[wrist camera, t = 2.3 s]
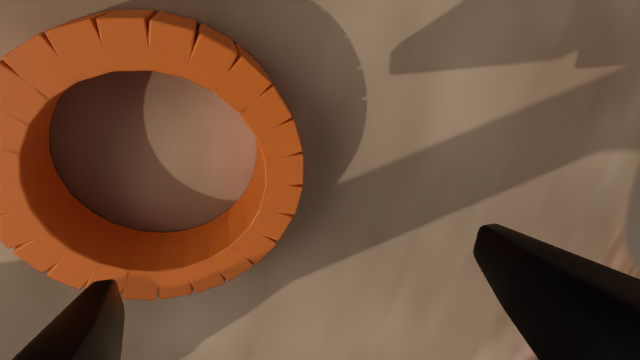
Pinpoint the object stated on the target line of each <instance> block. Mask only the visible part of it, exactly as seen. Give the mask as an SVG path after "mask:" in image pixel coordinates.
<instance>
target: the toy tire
mask: <svg viewBox="0 0 640 360" xmlns="http://www.w3.org/2000/svg"><path fill="white" fill-rule="evenodd" d="M196 26H197V22H196V21H195V20H193V19H189V18H185V17H182V16H178V15H174V14H170V13H167V12H163V11H159V12H158V13H157V14H156V15H155V11H154V10H128V9H116V10H113V11H109V10H108V11H104V12H101V13H97V14H93V15H90V16H86V17H82V18H79V19H75V20H72V21H69V22H67V23H64V24H62V25H59V26H56V27H54V28H51V29H48V30H46V31H44V32H42V33H39V34H37V35H36V36H34V37H33V38H31V39H30V40H28V41H26V42H25V43H23V44H22V45H20V46H19V47H17V48H16V49H14V50H13V51H11V52H9V53H8V54H6V55H5V56H3V58H2V59H3V60H1V61H0V240H1V241H2V242H3V243H4V245H5V246H6V247H7V248H12V247H15V246H16V247H15V249H14V250H13V253H14V254H15V255H17V256H18V257H20V258H21V259H23V260H24V261H25V262H27V263H28V264H30V265H31V266H33V267H34V268H35V269H37V270H38V271H40V272H45V271H46V270H48V269H49V271H48V273H47V276H48V277H50V278H53V279H55V280H57V281H60V282H62V283H65V284H67V285H69V286H72V287H74V288H76V289H81V288H82V287H83V286H84V285H85V284H86V286H85V288H84V290H85V289H86V288H87V287H88V286H89V285H90V284H91V283H93V282H95V281H101V280H108V279H113V280H115V281H116V283H117V285H118V288H119V292H120V295H121V293H122V291H123V299H143V300H156V299H157V296H158V290H159V295H160V298H161V299H165V298H171V297H177V296H184V295H190V294H192V292H193V289H194V290H195V292H196V293H199V292H201V291H204V290H207V289H210V288H212V287H215V286H218V285H221V284H223V283H225V278H226V279H227V280H228V281H230V280H231V279H233V278H235V277H236V276H238V275H239V274H241V273H243V272H244V271H246V270H248V269H249V268H251V267H252V266H253V262H254V263H256V264H257V263H258V262H259V261H260V260H261V259H262V258H263V257H264V256H265V255H266V254H267V253H268V252H269V251H270V250H271V249H272V248H273V247H274V246H275V245H276V244H277V243H276V240H280V238H281V236H282V235H283V233H284V232H285V230H286V228H287V227H288V225H289V224H290V222H291V220H292V218H293V216H292V214H295V213H296V210H297V206H298V203H299V200H300V196H301V193H302V190H303V186H302V184H303V183H304V155H303V153H302V151H303V147H302V144H301V140H300V137H299V133H298V130H297V126H296V123H295V120H294V119H293V117H292V114H291V112H290V110H289V109H288V107H287V105H286V104H285V102H284V100H283V99H282V97H281V95H280V94H279V92H278V91H277V89H276V87H275V86H274V84H273V82H272V81H271V79H270V78H269V76H268V74H267V73H266V71H265V70H263V68H262V66H261V65H260V64H259V63H258V62H257V61H256V60H255V59H254V58H253V57H251V56H250V55H249V54H248V53H247V52H246V51H245V50H244V49H243V48H242V47H241V46H240V45H239V44H237V43H236V44H235V45H234V43H233V41H232V39H230V38H228V37H226V36H225V35H223V34H221V33H219V32H218V31H216V30H214V29H212V28H210V27H209V26H207V25H205V24H202V23H201V24H200V25H199V27H198V29H197V32H196ZM195 33H196V34H195ZM116 71H155V72H160V73H164V74H169V75H173V76H178V77H183V78H186V79H188V80H190V81H192V82H194V83H196V84H198V85H200V86H203V87H205V88H207V89H209V90H211V91H213V92H215V93H216V94H217V95H218V96H219V97H221V98H222V99H223V100H224V101H225V102H227V103H228V104H229V105H230V106H231V107H233V108H234V109H235V110H236V111H237V112H239V114H240V115H241V116H242V118H243V119H244V121H245V122H246V123H247V125H248V126H249V128H250V129H251V130H252V132H253V133H254V135H255V136H256V143H257V160H256V164H255V169H254V173H253V177H252V180H251V182H250V183H249V185H248V187H247V189H246V191H245V192H244V194H243V195H242V196H241V197H240V199H239V200H238V201H237V202H236V203H235V204H234V205H233V206H232V207H231V208H230V209H229V210H228V211H227V212H225V213H223V214H222V215H220V216H219V217H217V218H215V219H214V220H212V221H210V222H209V223H206V224H203V225H200V226H197V227H194V228H191V229H188V230H184V231H176V232H168V233H161V232H148V231H138V230H135V229H131V228H128V227H124V226H121V225H117V224H114V223H112V222H110V221H108V220H106V219H104V218H102V217H101V216H99V215H97V214H95V213H93V212H91V211H90V210H89V209H87V208H86V207H85V206H84V205H83V204H82V203H80V202H79V201H78V200H77V199H76V198H75V197H74V196H72V195H71V193H70V192H69V190H68V189H67V187H66V186H65V184H64V183H63V182H62V180H61V179H60V177H59V176H58V174H57V172H56V169H55V166H54V163H53V160H52V157H51V154H50V151H49V124H50V121H51V118H52V115H53V113H54V110H55V107H56V104H57V101H58V99H59V98H60V97H61V96H62V94H63V93H64V92H65V91H66V90H67V89H68V88H70V87H71V86H73V85H74V84H76V83H77V82H79V81H83V80H86V79H90V78H93V77H97V76H100V75H103V74H107V73H110V72H116Z"/></svg>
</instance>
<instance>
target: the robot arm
mask: <svg viewBox="0 0 640 360" xmlns="http://www.w3.org/2000/svg"><path fill="white" fill-rule="evenodd" d="M474 257H475V260H476V261H477V263H478V265H479V267H480V268H481V270H482V272H483V274H484V276H485V277H486V279H487V281H488V283H489V284H490V286H491V288H492V290H493V292H494V293H495V295H496V297H497V299H498V300H499V302H500V304H501V305H502V307H503V308H504V310H505V311H506V313H507V315H508V316H509V317H510V319H511V320H512V322H513V323H514V325H515V326H516V327H517V329H518V330H519V332H520V333H521V335H522V336H523V337H524V339H525V340H526V342H527V343H528V345H529V346H530V348H531V349H532V350H533V352H534V353H535V355H536V356H537V358H538V359H539V360H640V279H637V278H635V277H632V276H630V275H627V274H625V273H622V272H619V271H617V270H614V269H612V268H609V267H607V266H604V265H601V264H599V263H596V262H594V261H591V260H589V259H586V258H583V257H581V256H578V255H576V254H573V253H571V252H568V251H565V250H563V249H560V248H558V247H555V246H553V245H550V244H547V243H545V242H542V241H540V240H537V239H535V238H532V237H529V236H527V235H524V234H522V233H519V232H517V231H514V230H511V229H509V228H506V227H504V226H501V225H499V224H488V225H483V226H481V227H480V229H479V231H478V235H477V238H476V242H475V246H474ZM124 317H125V313H124V306H123V302H122V299H121V295H120V292H119V288H118V285H117V283H116V281H115V280H113V279H108V280H101V281H95V282H93V283H91V284H90V285H89V286H88V287H87V288H86V289H85V290H84V291H83V292H82V293H81V294H80V295H79V296H78V297H77V298H76V299H75V300H73V301H72V302H71V303H70V304H69V305H68V306H67V307H66V308H65V309H64V310H63V311H62V312H61V313H60V314H59V315H58V316H57V317H56V318H55V319H54V320H53V321H52V322H51V323H49V324H48V325H47V326H46V327H45V328H44V329H43V330H42V331H41V332H40V333H39V334H38V335H37V336H36V337H35V338H34V339H33V340H32V341H31V342H30V343H29V344H28V345H27V346H25V347H24V348H23V349H22V350H21V351H20V352H19V353H18V354H17V355H16V356H15V357H14V358H13V359H12V360H120V358H121V348H122V338H123V328H124Z"/></svg>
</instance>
